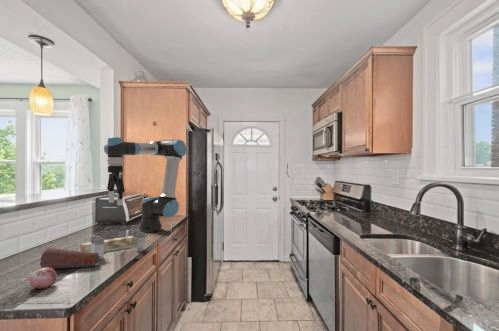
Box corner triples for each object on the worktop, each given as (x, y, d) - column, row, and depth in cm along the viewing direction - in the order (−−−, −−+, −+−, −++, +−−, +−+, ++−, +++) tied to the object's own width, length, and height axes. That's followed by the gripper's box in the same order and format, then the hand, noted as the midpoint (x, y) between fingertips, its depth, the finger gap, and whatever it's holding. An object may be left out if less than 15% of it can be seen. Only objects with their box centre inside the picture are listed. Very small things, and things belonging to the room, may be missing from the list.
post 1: (99, 254, 139) (99, 235, 139) (103, 258, 134) (103, 238, 134) (90, 256, 136) (90, 237, 136) (94, 260, 131) (94, 239, 131)
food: (39, 273, 115) (39, 251, 115) (49, 265, 124) (49, 245, 124) (96, 268, 120) (96, 247, 121) (101, 261, 130) (101, 242, 130)
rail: (135, 242, 161) (135, 235, 162) (138, 243, 159) (138, 236, 159) (80, 251, 142) (80, 243, 142) (82, 253, 139) (82, 245, 139)
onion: (28, 293, 96) (29, 272, 96) (29, 285, 102) (30, 266, 102) (57, 288, 100) (57, 268, 100) (56, 281, 107) (56, 262, 107)
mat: (137, 241, 165) (137, 240, 165) (144, 245, 158) (144, 244, 158) (74, 252, 143) (74, 251, 143) (79, 256, 136) (79, 255, 136)
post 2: (139, 247, 153) (139, 230, 153) (144, 250, 148) (144, 232, 148) (131, 248, 150) (132, 231, 150) (137, 251, 145) (137, 233, 145)
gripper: (100, 165, 160) (101, 202, 161) (116, 165, 142) (116, 207, 143) (114, 165, 165) (114, 200, 166) (131, 165, 148) (131, 205, 148)
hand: (115, 203), depth 154 cm, fingers open, 13 cm apart
